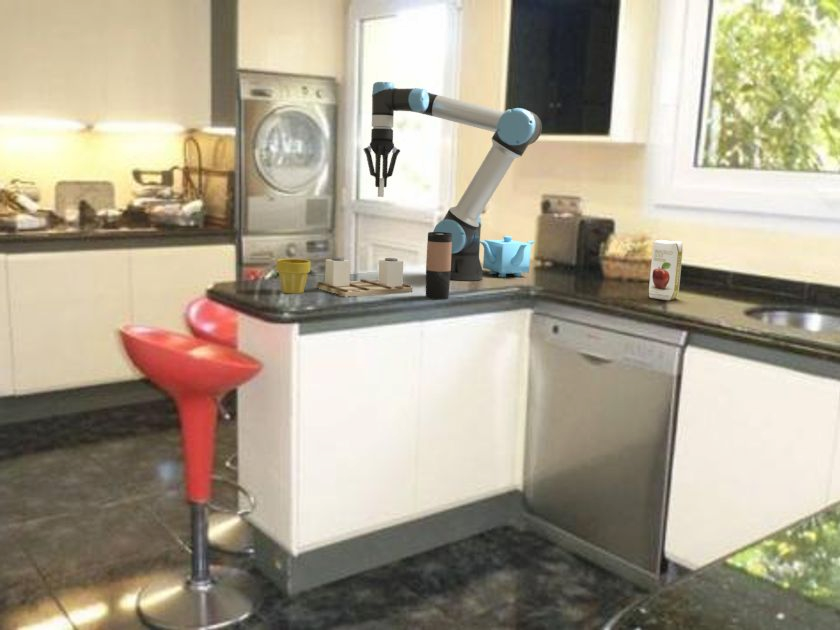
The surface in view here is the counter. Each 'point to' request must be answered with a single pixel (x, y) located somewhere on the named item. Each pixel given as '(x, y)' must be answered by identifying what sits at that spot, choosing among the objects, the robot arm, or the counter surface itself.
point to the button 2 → (390, 272)
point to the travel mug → (438, 265)
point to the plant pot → (293, 274)
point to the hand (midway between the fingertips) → (380, 196)
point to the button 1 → (337, 272)
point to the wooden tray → (365, 288)
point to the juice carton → (665, 269)
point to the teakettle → (506, 256)
